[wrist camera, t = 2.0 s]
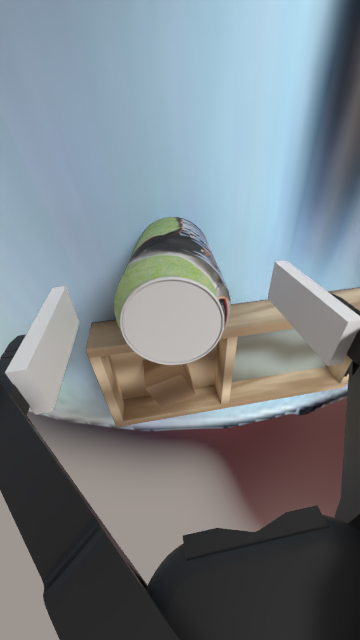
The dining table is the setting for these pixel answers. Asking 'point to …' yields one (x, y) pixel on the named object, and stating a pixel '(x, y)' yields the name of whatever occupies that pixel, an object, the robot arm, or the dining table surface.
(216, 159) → the dining table surface
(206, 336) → the beverage can
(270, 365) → the walled box
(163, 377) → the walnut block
